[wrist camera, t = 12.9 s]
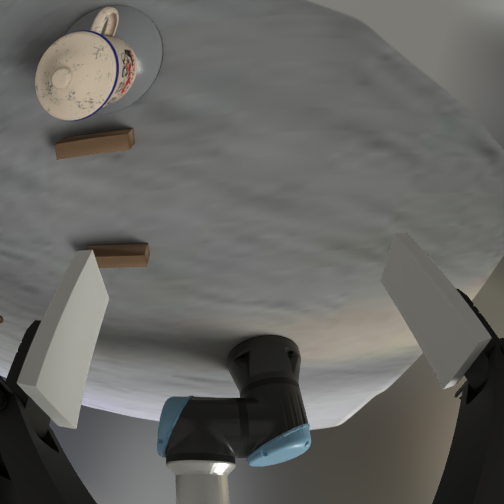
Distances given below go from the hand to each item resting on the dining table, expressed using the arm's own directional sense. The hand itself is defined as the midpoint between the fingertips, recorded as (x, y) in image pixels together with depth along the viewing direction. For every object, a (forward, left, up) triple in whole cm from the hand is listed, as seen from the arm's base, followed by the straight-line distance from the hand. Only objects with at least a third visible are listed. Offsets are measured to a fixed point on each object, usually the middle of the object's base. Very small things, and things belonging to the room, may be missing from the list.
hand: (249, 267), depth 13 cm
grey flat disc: (+10, +14, -27) cm, 33 cm away
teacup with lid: (+10, +14, -27) cm, 32 cm away
